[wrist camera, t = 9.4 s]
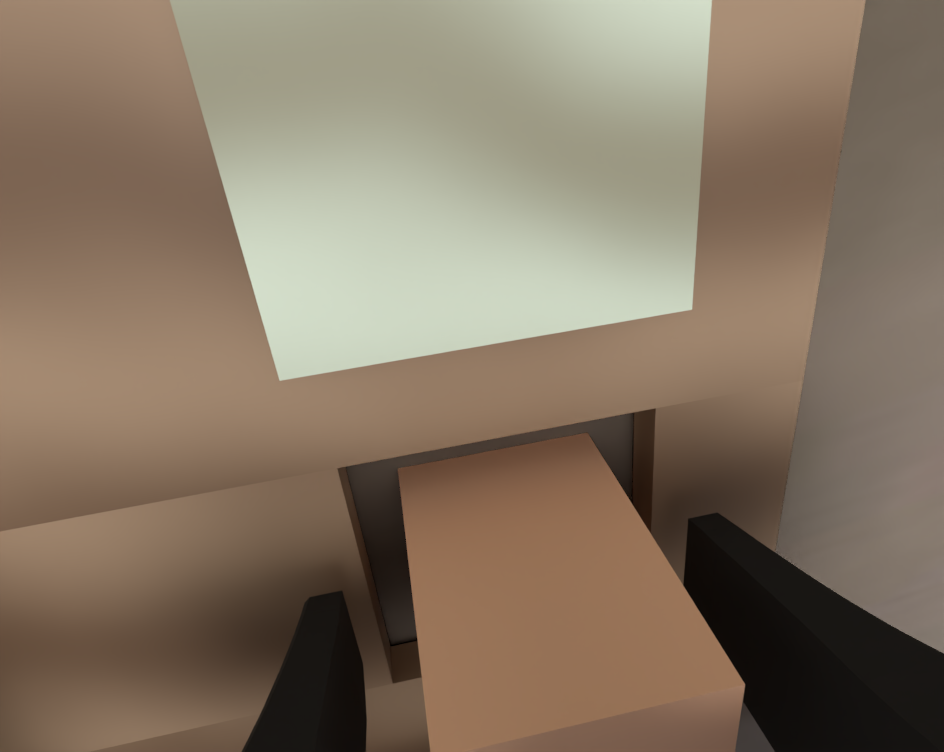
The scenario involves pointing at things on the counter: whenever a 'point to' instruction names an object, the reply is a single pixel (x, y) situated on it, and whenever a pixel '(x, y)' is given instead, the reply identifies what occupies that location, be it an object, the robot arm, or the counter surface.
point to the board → (371, 308)
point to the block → (555, 612)
